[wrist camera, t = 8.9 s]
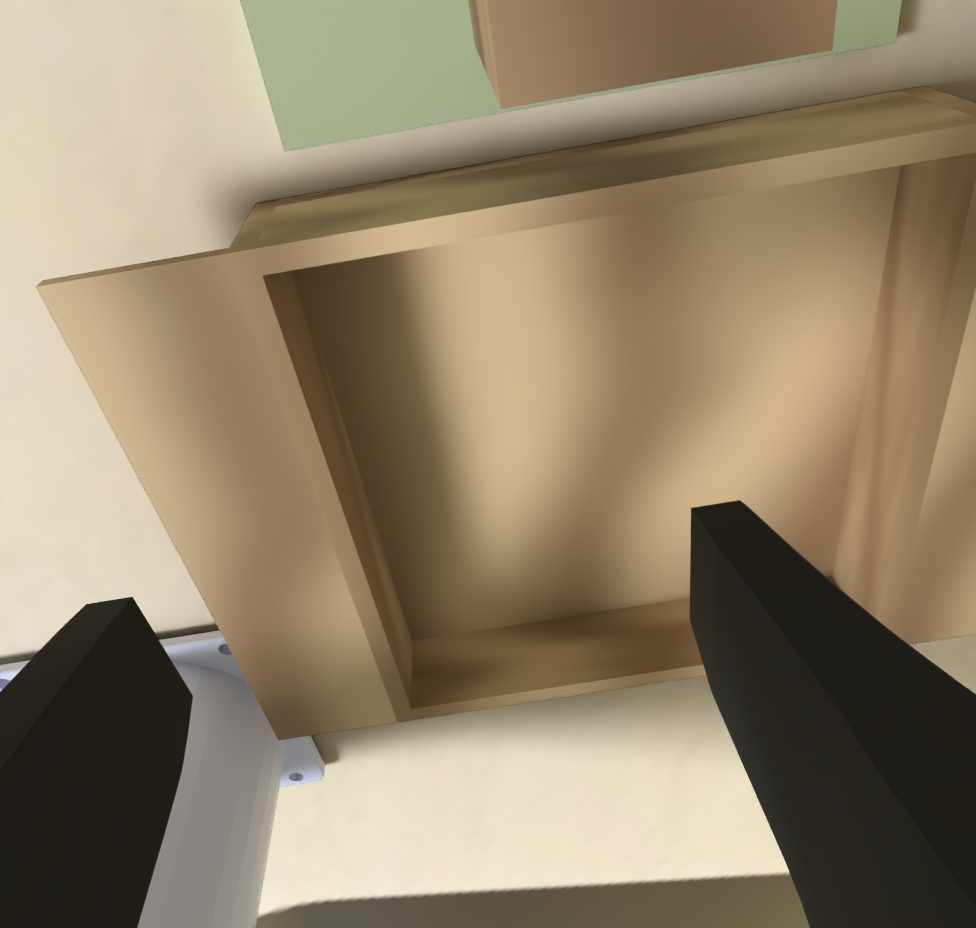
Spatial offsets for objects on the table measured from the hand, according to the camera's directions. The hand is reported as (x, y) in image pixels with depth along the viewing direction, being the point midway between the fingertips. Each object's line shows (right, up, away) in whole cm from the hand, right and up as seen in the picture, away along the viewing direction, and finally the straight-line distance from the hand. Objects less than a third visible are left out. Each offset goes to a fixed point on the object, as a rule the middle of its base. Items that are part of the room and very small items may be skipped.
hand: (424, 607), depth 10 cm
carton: (+4, +3, +10) cm, 11 cm away
